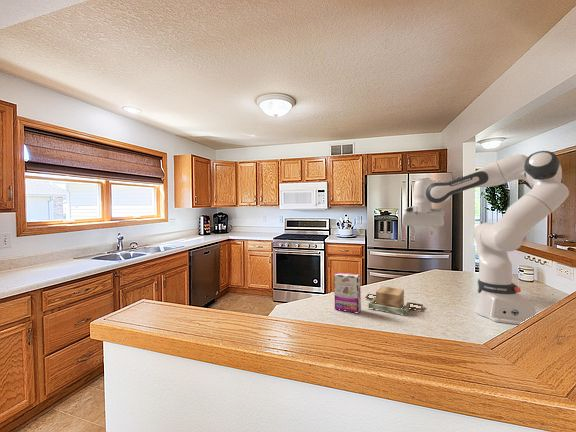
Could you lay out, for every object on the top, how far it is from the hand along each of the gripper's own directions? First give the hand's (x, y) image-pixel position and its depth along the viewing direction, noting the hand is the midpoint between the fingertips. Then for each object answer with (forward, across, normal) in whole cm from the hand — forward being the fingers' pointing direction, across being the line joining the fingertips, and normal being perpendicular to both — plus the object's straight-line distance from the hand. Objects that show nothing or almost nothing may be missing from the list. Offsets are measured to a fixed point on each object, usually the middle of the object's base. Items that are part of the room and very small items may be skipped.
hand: (422, 234), depth 148 cm
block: (+31, +10, +34) cm, 47 cm away
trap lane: (+31, +10, +32) cm, 46 cm away
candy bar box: (+31, +26, +46) cm, 61 cm away
